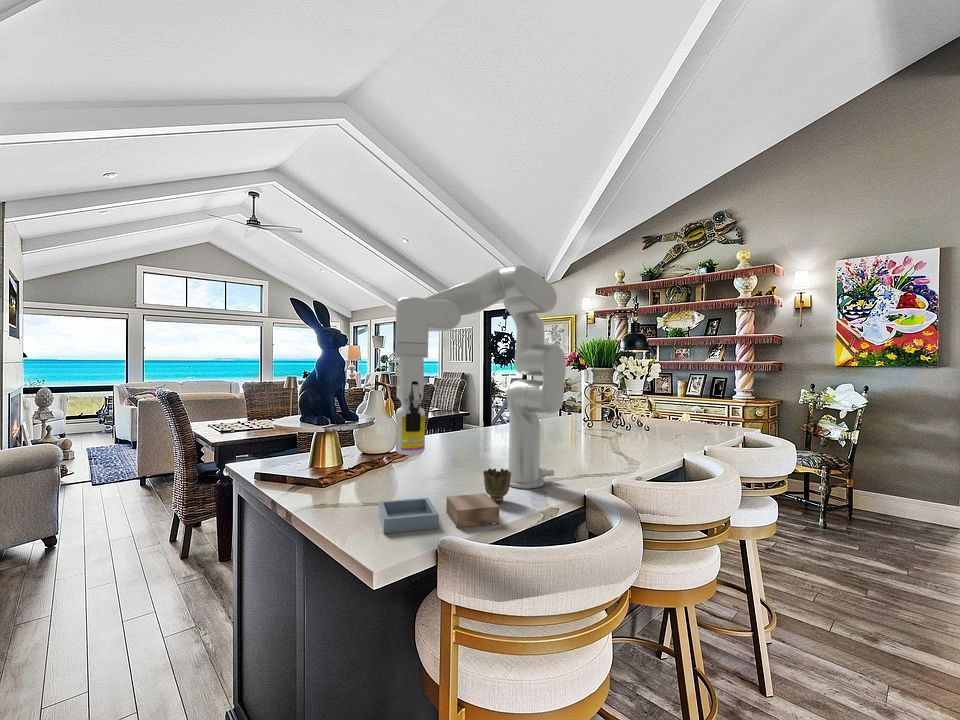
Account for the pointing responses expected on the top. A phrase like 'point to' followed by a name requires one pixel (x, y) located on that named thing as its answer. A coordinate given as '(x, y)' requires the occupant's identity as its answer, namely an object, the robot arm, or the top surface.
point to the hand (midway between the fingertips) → (410, 428)
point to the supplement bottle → (409, 433)
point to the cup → (497, 483)
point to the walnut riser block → (472, 510)
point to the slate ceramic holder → (407, 515)
